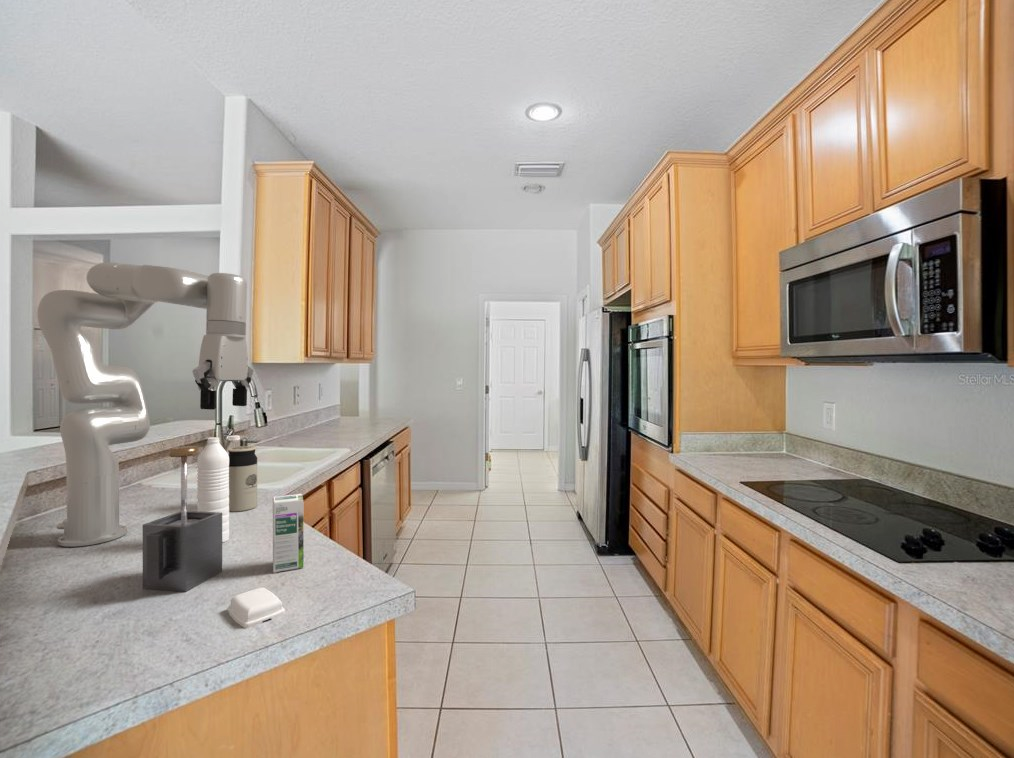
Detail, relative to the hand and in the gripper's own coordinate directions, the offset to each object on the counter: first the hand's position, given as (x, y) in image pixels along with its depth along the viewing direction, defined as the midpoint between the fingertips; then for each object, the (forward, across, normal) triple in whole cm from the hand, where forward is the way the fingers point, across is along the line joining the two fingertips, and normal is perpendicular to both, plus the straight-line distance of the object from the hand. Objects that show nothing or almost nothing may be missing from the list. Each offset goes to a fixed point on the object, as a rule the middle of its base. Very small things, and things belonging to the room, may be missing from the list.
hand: (224, 407), depth 103 cm
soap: (+33, +23, +24) cm, 46 cm away
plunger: (+22, +13, +2) cm, 26 cm away
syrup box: (+32, +4, +18) cm, 38 cm away
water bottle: (+33, -7, -6) cm, 34 cm away
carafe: (+33, +14, +2) cm, 36 cm away
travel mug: (+34, -33, -19) cm, 50 cm away
